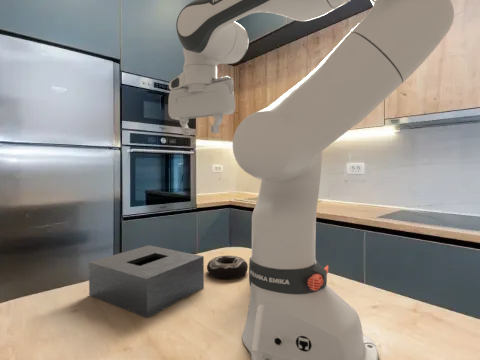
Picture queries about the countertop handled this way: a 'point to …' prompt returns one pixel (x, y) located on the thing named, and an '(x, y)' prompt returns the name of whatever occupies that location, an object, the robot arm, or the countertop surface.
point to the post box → (146, 278)
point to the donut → (227, 267)
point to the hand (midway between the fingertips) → (200, 134)
